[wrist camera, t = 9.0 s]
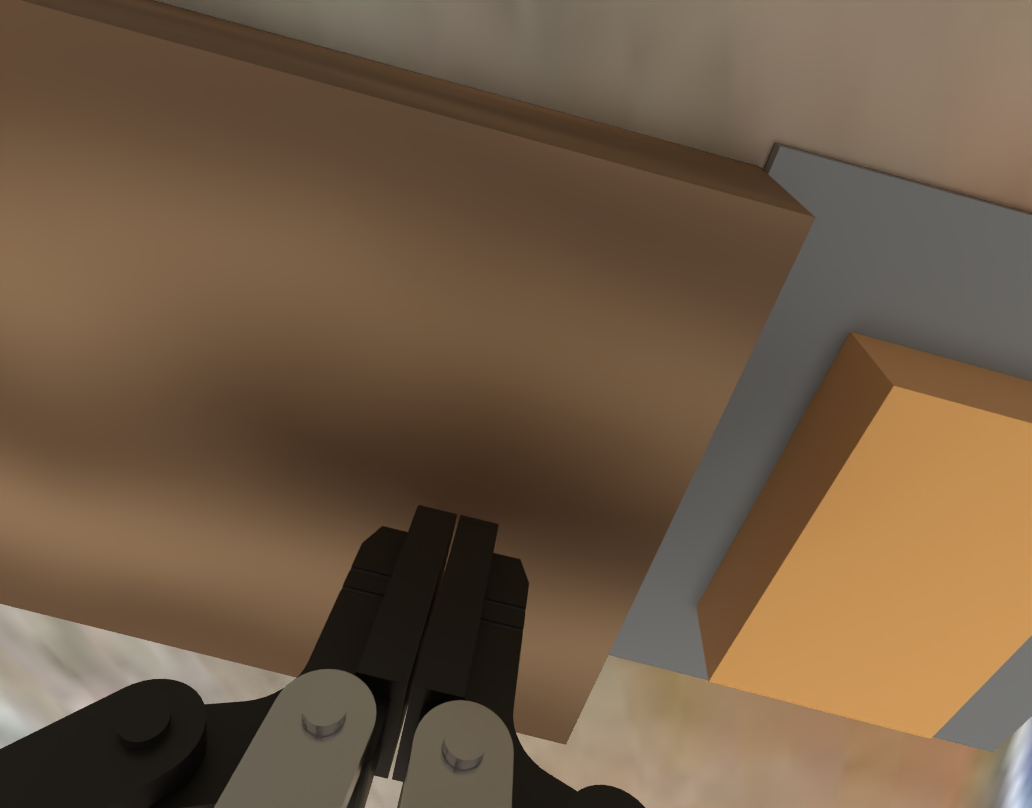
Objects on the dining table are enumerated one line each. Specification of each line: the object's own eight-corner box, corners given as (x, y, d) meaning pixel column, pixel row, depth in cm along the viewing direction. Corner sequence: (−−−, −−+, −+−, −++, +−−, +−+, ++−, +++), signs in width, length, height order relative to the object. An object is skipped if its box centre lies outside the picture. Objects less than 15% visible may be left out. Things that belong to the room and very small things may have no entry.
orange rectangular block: (1194, 467, 13) (1107, 402, 15) (893, 385, 12) (850, 331, 15) (931, 738, 17) (893, 658, 19) (708, 681, 17) (696, 607, 19)
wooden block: (-20, -47, 13) (-241, -72, 10) (760, 167, 13) (815, 217, 10) (63, 494, 20) (-47, 591, 17) (571, 623, 21) (565, 744, 17)
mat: (775, 143, 13) (780, 146, 13) (1422, 321, 14) (1443, 328, 13) (570, 634, 21) (569, 645, 20) (986, 740, 21) (993, 752, 21)
